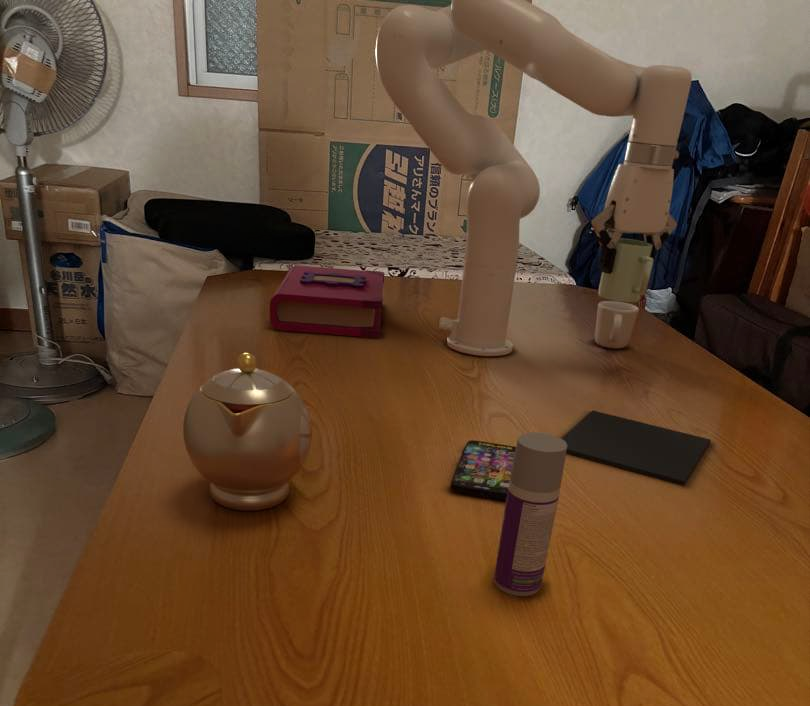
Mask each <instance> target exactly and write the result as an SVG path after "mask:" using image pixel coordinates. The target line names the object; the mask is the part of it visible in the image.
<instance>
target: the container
mask: <svg viewBox="0 0 810 706" xmlns="http://www.w3.org/2000/svg"><path fill="white" fill-rule="evenodd" d="M561 438H562V437H561ZM561 438H560V437H559V436H556V435H554V434H551V433H545V432H537V431H535V432H532V431H531V432H526V433H522V434H520V435H519V436H518V437H517V440H516V445H515V447H516V450H515V455H514V460H513V466H512V471H511V476H510V481H509V486H508V492H507V498H506V500H505V506H504V512H503V518H502V524H501V531H500V535H499V543H498V549H497V554H496V555H497V556H496V562H495V568H494V575H493V584H494V585H495V587H496V588H497V589H499V590H500V591H502V592H504V593H506V594H508V595H512V596H516V597H529V596H533V595H536V594H537V593H538V592H539V591H540V590H541V587H542V583H543V578H544V573H545V569H546V563H547V558H548V554H549V549H550V543H551V538H552V533H553V529H554V524H555V519H556V514H557V508H558V503H559V497H560V493H561V487H562V481H563V475H564V470H565V469H564V468H565V463H566V457H567V453H566V451H567V443H566V442H565V441H564V440H563V439H561Z"/></svg>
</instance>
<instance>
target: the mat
mask: <svg viewBox="0 0 810 706" xmlns="http://www.w3.org/2000/svg"><path fill="white" fill-rule="evenodd" d="M561 439H563V440H564V441H565V442H566V443H567V451H566V454H568V455H570V456H575V457H578V458H582V459H586V460H588V461H589V460H590V461H594V462H598V463H601V464H605V465H609V466H612V467H615V468H619V469H622V470H626V471H630V472H633V473H638V474H641V475H645V476H648V477H652V478H655V479H659V480H663V481H667V482H670V483H674V484H677V485H681V486H685V485H686V483H687V482H688V480H689V478H690V477H691V475H692V473H693V472H694V470H695V468H696V467H697V465H698V463H699V461H700V460H701V458H702V457H703V455H704V454H705V452H706V451H707V448H708V446H709V445H710V444H711V441H712V440H711V439H710V438H706V437H702V436H698V435H694V434H690V433H686V432H682V431H678V430H675V429H670V428H665V427H661V426H657V425H653V424H650V423H647V422H646V423H645V422H641V421H638V420H633V419H630V418H625V417H621V416H617V415H613V414H609V413H605V412H601V411H597V410H591V411H590V412H589V413H588V414H587V415H585V417H583V418H582V419H581V420H580V421H579V422H578V423H577V424H576V425H574V427H572V428H571V429H570V430H569V431H567V433H566V434H564V435H563V437H561Z"/></svg>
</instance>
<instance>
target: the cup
mask: <svg viewBox="0 0 810 706" xmlns="http://www.w3.org/2000/svg"><path fill="white" fill-rule="evenodd" d="M639 311H640V309H639V307H638V306H637V305H635V304H631V303H629V302H620V301H614V300H604V301H600V302H598V303H597V311H596V319H595V320H596V322H595V333H594V341H595V343H596V344H597V345H599V346H601V347H603V348H607V349H614V350H615V349H616V350H617V349H623V348H625V347H626V346H628V344H629V341H630V339H631V335H632V333H633V330H634V326H635V323H636V320H637V317H638V316H639Z"/></svg>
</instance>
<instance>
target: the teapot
mask: <svg viewBox="0 0 810 706" xmlns="http://www.w3.org/2000/svg"><path fill="white" fill-rule="evenodd" d="M257 367H258V361H257V359H256V357H255V356H254V354H251V353H249V352H244V353H242V354H240V355H239V356H238V357H237V359H236V367H235V368H231V369H227V370H224V371H221V372H219V373H217V374H215V375H213V376H211V377H210V378H209V379H208V380H206V381H205V382H203V383H202V384H201V385H200V387H199V388H198V389H197V390H196V391H195V393H194V394H193V395H192V396H191V399H190V400H189V402H188V405H187V407H186V410H185V412H184V413H185V414H184V416H183V417H184V418H183V426H182V427H183V428H182V434H183V442H184V446H185V449H186V452H187V454H188V457H189V459H190V461H191V462H192V465H193V466H194V467H195V468H196V471H198V472H199V474H201V475H202V476H203V478H205V480H207V481H208V482H209V488H208V489H209V494H210V496H211V498H212V499H213V500H214V502H216V503H217V504H219V505H221V506H222V507H225V508H228V509H231V510H235V511H243V512H244V511H245V512H248V511H249V512H253V511H254V512H256V511H262V510H267V509H268V510H269V509H271V508H274V507H276V506H278V505H279V504H281V503H282V502H284V501H285V500H286V499H287V498H288V496H289V493H290V484H289V482H290V481H291V480H292V479H293V478H294V477H295V476H296V475H297V474H298V472H299V471H300V470H301V469H302V467H303V465H304V464H305V462H306V460H307V458H308V455H309V453H310V448H311V444H312V439H313V438H312V437H313V434H312V433H313V429H312V421H311V417H310V413H309V410H308V408H307V406H306V404H305V402H304V399H303V398H302V397H301V395H300V394H299V392H298V391H297V390H296V389H295V388H294V387H293V386H292V385H291V384H290V383H288V381H286V380H285V379H283V378H282V377H280V376H278V375H276V374H274V373H272V372H270V371H268V370H264V369H260V368H257Z"/></svg>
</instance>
